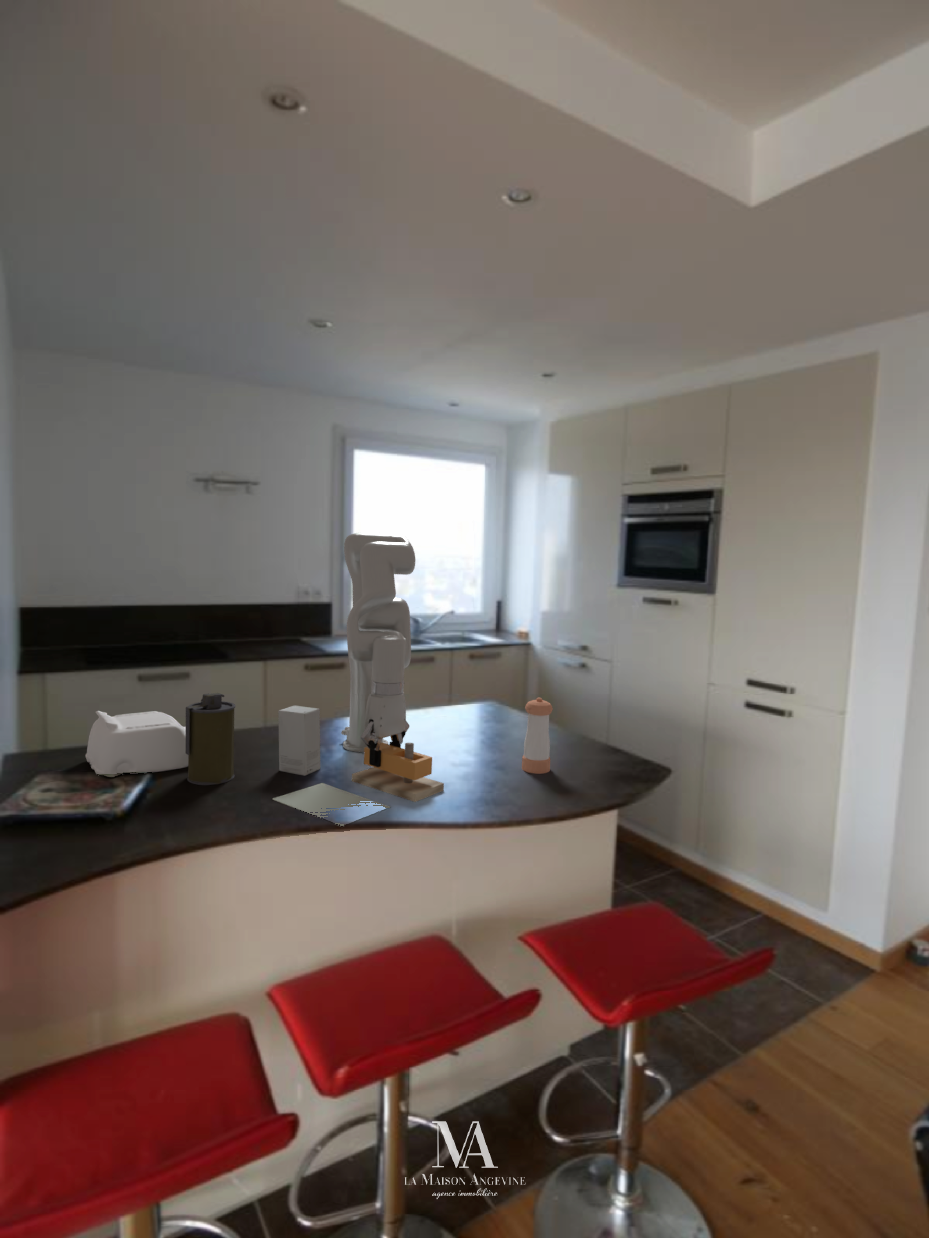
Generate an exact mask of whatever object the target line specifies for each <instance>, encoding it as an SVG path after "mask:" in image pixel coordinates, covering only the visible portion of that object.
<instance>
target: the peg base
mask: <svg viewBox="0 0 929 1238" xmlns="http://www.w3.org/2000/svg"><path fill="white" fill-rule="evenodd" d="M414 747H415V743H414V742H405V743H404V749H405V758H407V759H411V760H413V753H414V752H415V750H414V749H415V748H414ZM351 782H353V783H356V784H358V785H362V786H364V787H368V788H371V789H375V790H377V791H380V792H384V793H387V794H389V795H393V796H395V797H399V798H402V799H404V800H408V801H411V802H414V803H416V802H419V801H421V800H424V799H425V798H429V797H431V796H433V795H436V794H438V793H441V792H444V789H445V783H444V782H441V781H438V780H434V779H431V778H427V777H426V776H425V777H422V778H419V779H417V780H412V779H408V778H405V777H402V776H399V775H396V774H393V773H390V772H387V771H384V770H381V769H378V768H375V767H372V766H371V767H369V768H366V769H363V770H360V771H357V772H353V773H351Z"/></svg>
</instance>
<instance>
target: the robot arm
mask: <svg viewBox="0 0 929 1238" xmlns="http://www.w3.org/2000/svg"><path fill="white" fill-rule="evenodd" d="M343 552H344V554H343V555H344V560H345V564H346V568H347V570H348V572H349V575H350V579H351V582H352V583H351V584H352V585H351V586H352V607H351V609H350V611H349V613H348V616H347V620H346V637H347V639H346V642H347V643H346V644H347V655H348V656H347V657H348V661H349V662H348V663H349V676H350V677H349V678H350V679H349V682H350V683H349V688H350V689H349V719H348V720H349V724H348V726H345V727H344V729H342V730H341V731H340V732H341V733H340V734H341V735H343V736H346V739H345V740H344V741H343V742H342V746H343V748H344V749H345V750H347V751H350V752H354V753H355V752H356V753H364V748H365V747H368V748H369V749H370V758H369V764H370V765H373V766H376V767H380V766H381V750H379V749H380V745H381V743H385V744H389V745H392V746H395V747H399V748H402V744H403V742H404V739H405V736H406V734H407V732H408V730H409V729H410V724H409V722H408V721H407V709H406V698H405V692H404V686H405V669H406V668H407V667H409V665H410V663H411V661H412V660H411V658H412V639H411V638H412V636H411V634H412V633H411V613H410V607H409V605H408V603H407V601H406V600H405V599H403V598H400V597H396V596H397V595H396V594H397V591H396V581H395V575H406V576H407V575H408V576H409V575H411V574H412V573H414V570H415V567H416V555H415V554H416V553H415V550H414V546H413V545H412V543H411V542H410V540H409V539H407V537H406V536H405V535H403V534H394V533H393V534H392V533H380V532H379V533H377V532H356V533H351V534H349V535H347V536H346V538H345V539H344V543H343ZM389 737H390V740H391V741H389V742H388V741H387V740H386V739H385V738H389Z"/></svg>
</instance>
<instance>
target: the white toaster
mask: <svg viewBox="0 0 929 1238" xmlns="http://www.w3.org/2000/svg"><path fill="white" fill-rule="evenodd" d="M94 713H95V714H96V715H97V716H98V718H97V719H96V720H95V721H94V722H93V723H92V726H91V728H90V732H89V736H88V740H87V741H88V742H87V748H86V753H85V756H84V757H85V758H86V761H87V763H89V765H90V767H91V768H90V769H92V770H94V772H95V775H97V774H117V773H123V772H152V773H158V772H166V771H173V770H178V769H179V770H180V769H184V768H188V755H187V754H186V726H183V725H181V723H180V722H179V721H178V720H176V719H175V718H174V717H173V716H171V715H169V714H167V713H164V712H162V711H157V710H154V711H153V710H151V711H143V712H133V713H123V714H115V715H114V716H111V715H109V714H108V712H105V711H100V710H96V711H95V712H94Z"/></svg>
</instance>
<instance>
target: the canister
mask: <svg viewBox="0 0 929 1238" xmlns="http://www.w3.org/2000/svg"><path fill="white" fill-rule="evenodd" d="M224 697H225V695H224V694H222V693H219V692H215V693H204V694H202V698H201V700H200V701H199V702H194V703H191V704H189V705H188V706H186V707H185V727H186V754H187V755H188V767H187V769H188V770H187V773H188V776H187V777H186V778H187V779H186V780H187V782H189V783H191V784H193V785H197V786H198V785H199V786H210V785H211V786H213V785H214V786H215V785H220V784H225V783H227V782H230V781H232V780H233V779H234V778H235V772H234V771H235V770H234V769H235V768H234V767H235V708H236V704H234V703H233V702H230V701H224V700H223V699H222V698H224Z"/></svg>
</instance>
